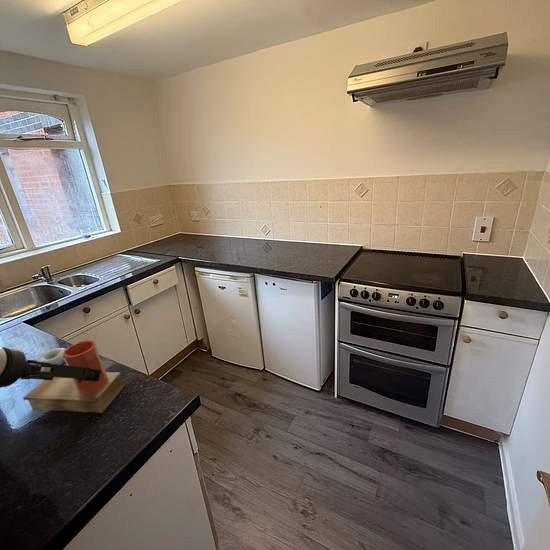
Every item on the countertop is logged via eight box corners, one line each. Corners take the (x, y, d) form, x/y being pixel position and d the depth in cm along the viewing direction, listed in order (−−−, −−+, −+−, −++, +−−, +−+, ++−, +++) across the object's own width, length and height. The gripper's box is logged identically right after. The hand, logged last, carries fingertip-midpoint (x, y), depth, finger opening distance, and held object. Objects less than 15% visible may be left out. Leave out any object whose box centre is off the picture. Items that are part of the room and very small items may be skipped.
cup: (71, 393, 80) (55, 356, 76) (91, 374, 87) (77, 340, 83) (95, 394, 79) (80, 357, 75) (113, 375, 86) (100, 340, 82)
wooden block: (30, 411, 83) (22, 397, 81) (61, 384, 93) (55, 370, 91) (100, 415, 79) (94, 400, 77) (125, 386, 89) (120, 372, 87)
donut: (77, 354, 107) (54, 353, 109) (74, 346, 106) (51, 345, 108) (54, 373, 98) (29, 371, 100) (50, 364, 97) (25, 363, 99)
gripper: (53, 346, 58) (121, 361, 77) (-51, 346, 62) (39, 360, 81) (40, 388, 55) (114, 392, 74) (-69, 385, 59) (29, 389, 78)
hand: (75, 375), depth 78 cm, fingers open, 13 cm apart
